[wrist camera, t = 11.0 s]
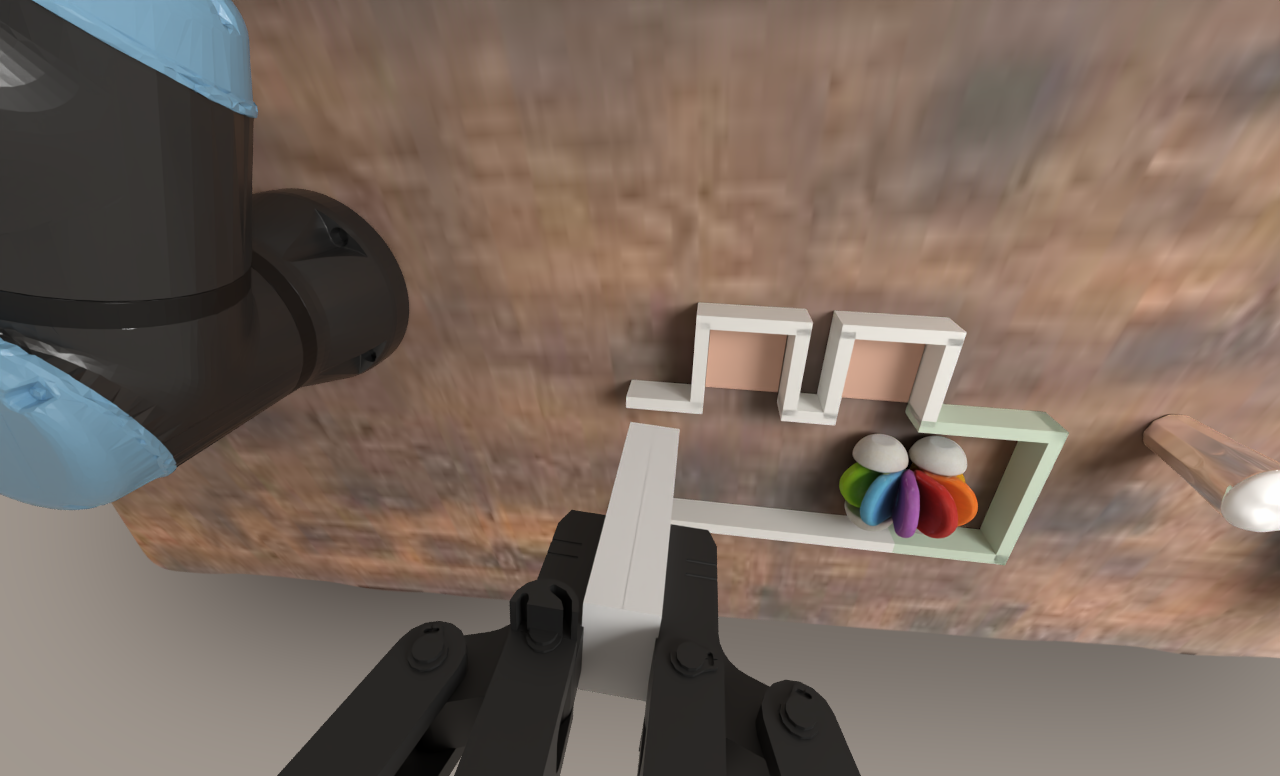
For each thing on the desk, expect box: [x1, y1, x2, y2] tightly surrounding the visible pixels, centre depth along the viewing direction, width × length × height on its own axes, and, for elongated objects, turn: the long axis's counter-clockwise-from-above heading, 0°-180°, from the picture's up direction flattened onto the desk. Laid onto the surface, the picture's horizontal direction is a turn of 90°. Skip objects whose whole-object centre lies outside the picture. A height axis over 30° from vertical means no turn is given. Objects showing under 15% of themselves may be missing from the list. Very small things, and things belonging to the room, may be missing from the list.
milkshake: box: [1143, 414, 1280, 532], centre depth 34 cm, size 4×5×10 cm
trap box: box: [626, 302, 1069, 565], centre depth 41 cm, size 32×20×3 cm, turn 89°
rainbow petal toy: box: [839, 434, 978, 539], centre depth 40 cm, size 8×10×7 cm
